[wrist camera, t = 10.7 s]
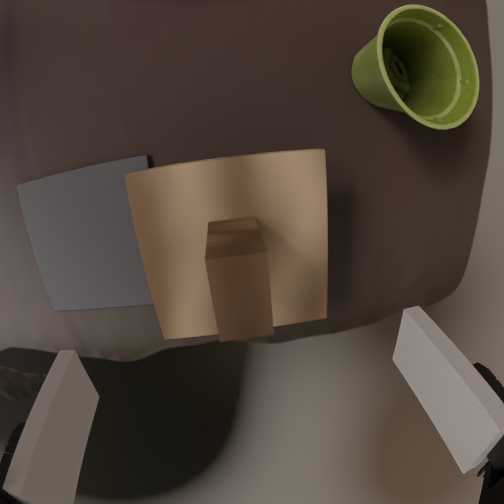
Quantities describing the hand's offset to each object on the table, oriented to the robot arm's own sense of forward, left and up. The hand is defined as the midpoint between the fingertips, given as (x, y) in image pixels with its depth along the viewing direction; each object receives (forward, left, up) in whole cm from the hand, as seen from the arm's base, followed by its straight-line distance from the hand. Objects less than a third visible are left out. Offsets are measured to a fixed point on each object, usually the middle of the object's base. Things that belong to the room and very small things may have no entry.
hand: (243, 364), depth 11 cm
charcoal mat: (-13, 0, -18) cm, 22 cm away
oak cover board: (0, 0, -12) cm, 12 cm away
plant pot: (+15, +13, -18) cm, 27 cm away
